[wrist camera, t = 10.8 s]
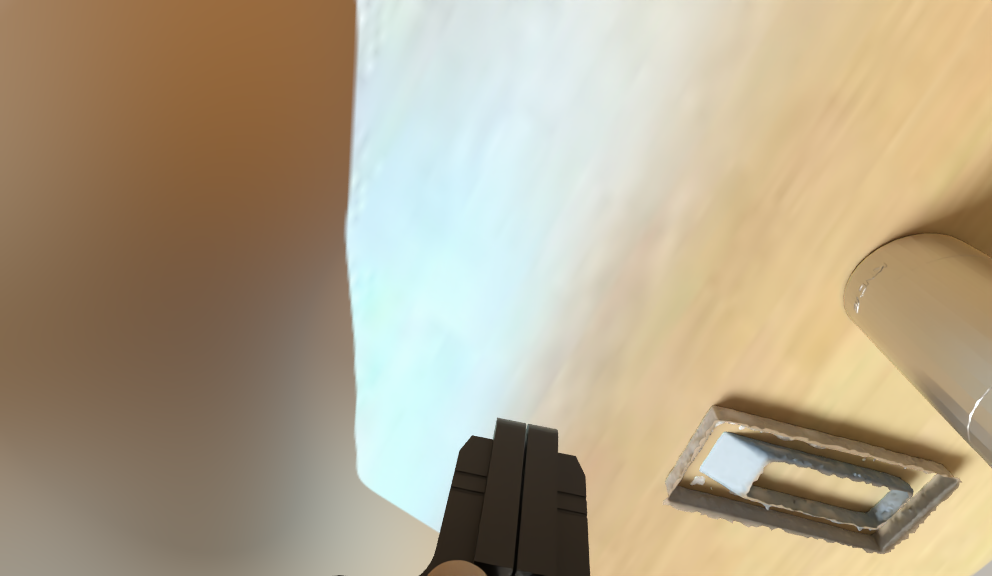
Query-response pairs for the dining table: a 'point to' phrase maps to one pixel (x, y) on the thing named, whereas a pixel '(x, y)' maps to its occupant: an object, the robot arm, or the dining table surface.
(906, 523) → the picture frame
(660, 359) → the dining table surface
